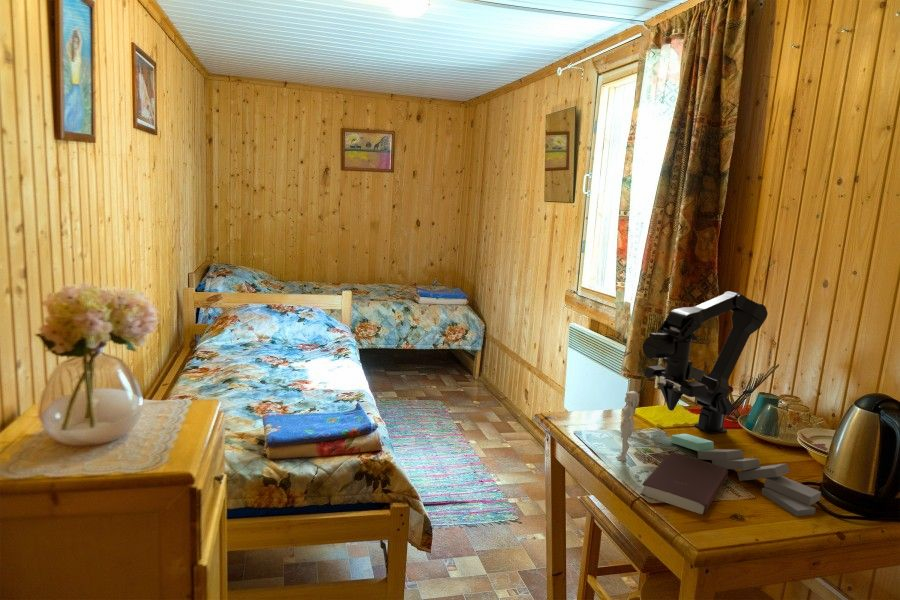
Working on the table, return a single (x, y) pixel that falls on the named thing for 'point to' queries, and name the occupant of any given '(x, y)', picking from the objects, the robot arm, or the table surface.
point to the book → (685, 482)
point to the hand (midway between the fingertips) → (670, 410)
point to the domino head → (692, 442)
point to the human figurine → (628, 422)
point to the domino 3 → (763, 472)
